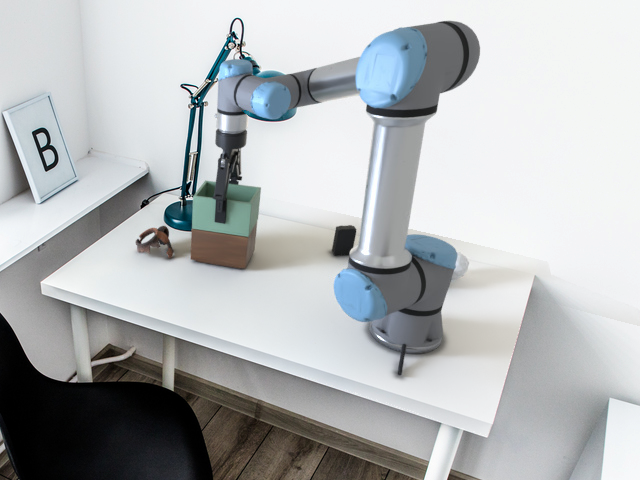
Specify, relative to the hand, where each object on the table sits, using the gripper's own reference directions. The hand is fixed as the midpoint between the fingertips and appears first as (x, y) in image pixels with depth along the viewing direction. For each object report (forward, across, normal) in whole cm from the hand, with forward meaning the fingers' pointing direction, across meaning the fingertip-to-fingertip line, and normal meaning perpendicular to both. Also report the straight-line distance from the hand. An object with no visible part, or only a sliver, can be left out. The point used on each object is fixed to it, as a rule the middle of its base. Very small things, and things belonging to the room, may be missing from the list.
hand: (226, 213), depth 170 cm
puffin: (+10, -9, +57) cm, 59 cm away
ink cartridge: (+14, -13, +30) cm, 35 cm away
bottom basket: (+13, 0, 0) cm, 13 cm away
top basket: (+4, 0, 0) cm, 4 cm away
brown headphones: (+13, +3, -18) cm, 23 cm away
